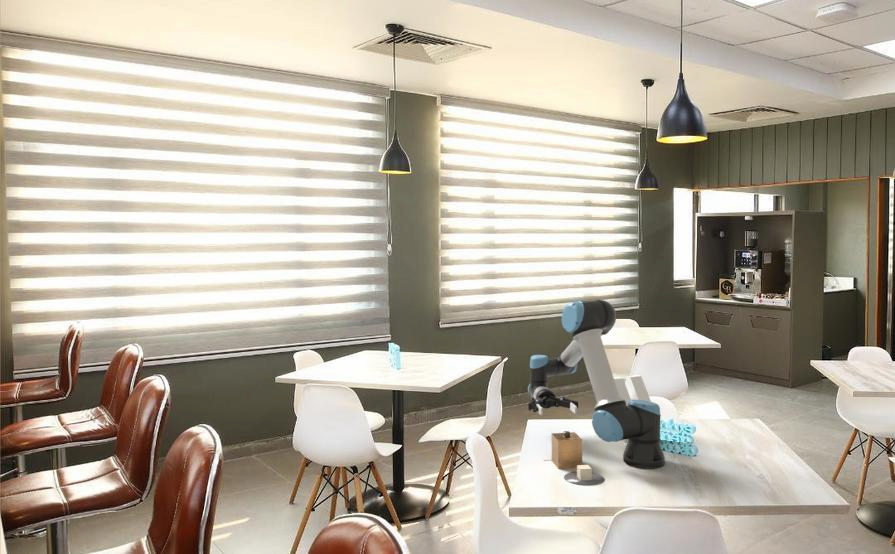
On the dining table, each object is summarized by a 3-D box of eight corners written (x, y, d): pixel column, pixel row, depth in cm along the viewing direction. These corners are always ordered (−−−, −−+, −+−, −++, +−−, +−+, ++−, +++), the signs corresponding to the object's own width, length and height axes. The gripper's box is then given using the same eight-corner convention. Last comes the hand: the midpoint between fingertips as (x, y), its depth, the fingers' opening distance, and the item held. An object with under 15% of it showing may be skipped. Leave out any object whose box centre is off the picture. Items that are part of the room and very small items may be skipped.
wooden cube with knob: (574, 460, 256) (574, 428, 255) (582, 468, 247) (582, 435, 246) (551, 462, 255) (551, 429, 254) (558, 470, 246) (558, 436, 245)
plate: (606, 476, 240) (606, 473, 240) (602, 490, 227) (602, 487, 227) (567, 472, 245) (567, 469, 245) (561, 486, 232) (561, 483, 231)
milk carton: (596, 431, 295) (596, 374, 294) (625, 426, 302) (625, 371, 300) (624, 443, 278) (625, 383, 276) (654, 438, 284) (654, 379, 282)
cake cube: (587, 475, 238) (587, 464, 238) (591, 479, 234) (591, 468, 234) (576, 476, 238) (576, 465, 237) (580, 480, 234) (580, 469, 233)
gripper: (573, 405, 282) (590, 419, 261) (515, 407, 279) (527, 422, 258) (573, 387, 282) (590, 400, 261) (515, 389, 279) (527, 402, 258)
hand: (558, 411), depth 260 cm, fingers open, 13 cm apart
